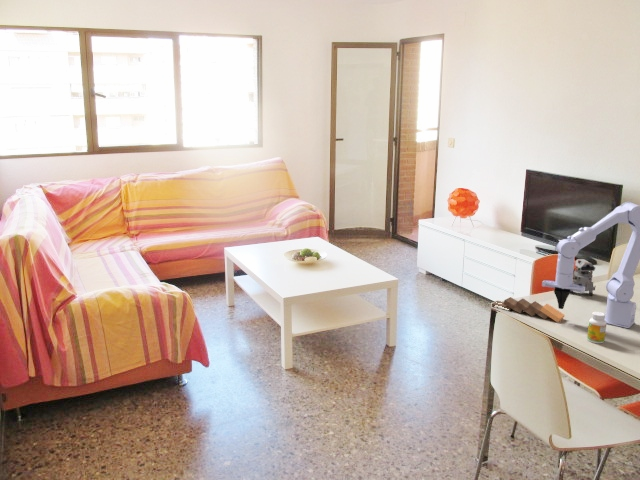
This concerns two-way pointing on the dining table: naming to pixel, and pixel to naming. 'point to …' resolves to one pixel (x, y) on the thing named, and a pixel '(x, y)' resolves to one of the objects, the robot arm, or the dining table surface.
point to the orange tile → (552, 312)
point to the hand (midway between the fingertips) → (561, 308)
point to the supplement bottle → (597, 328)
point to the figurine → (583, 275)
